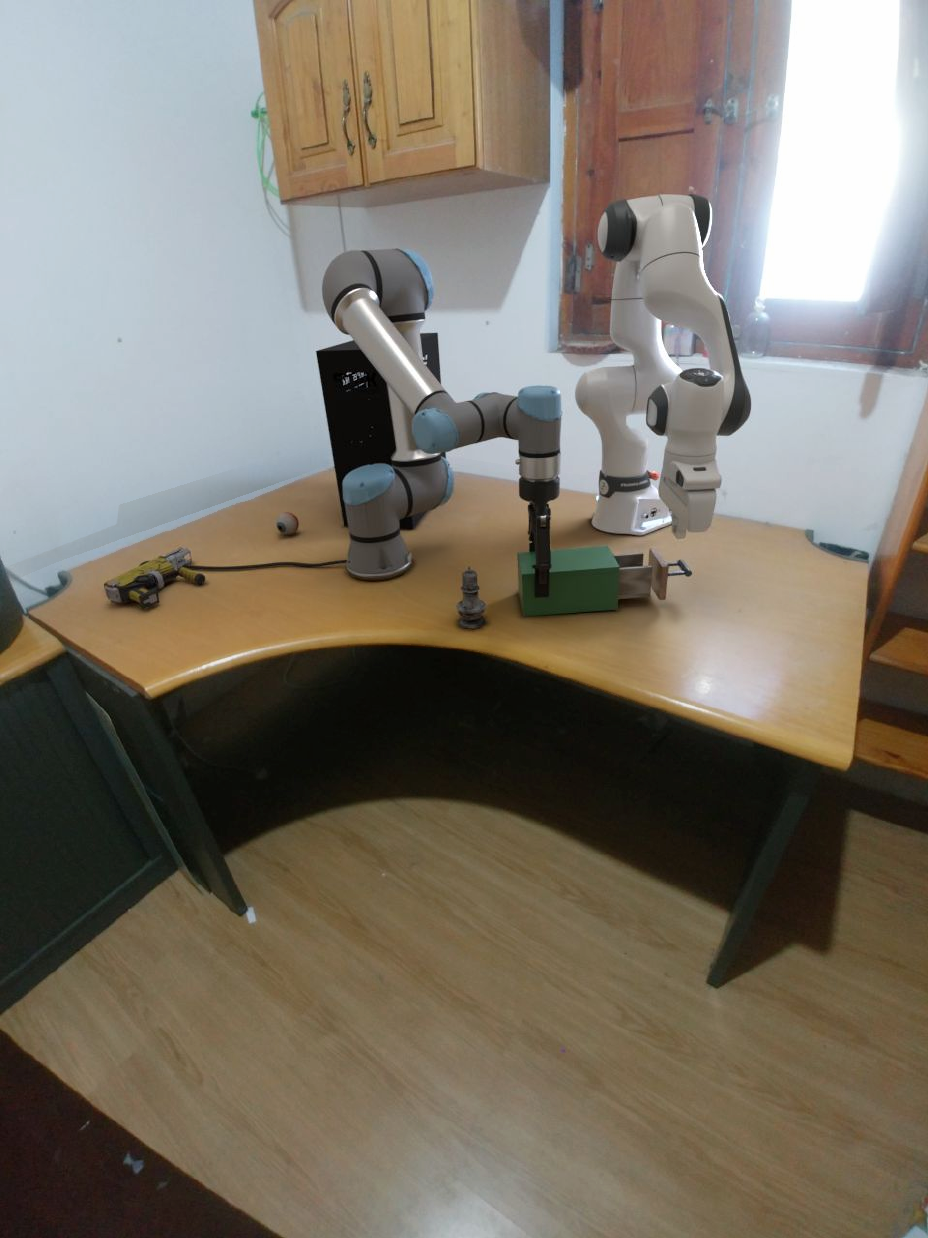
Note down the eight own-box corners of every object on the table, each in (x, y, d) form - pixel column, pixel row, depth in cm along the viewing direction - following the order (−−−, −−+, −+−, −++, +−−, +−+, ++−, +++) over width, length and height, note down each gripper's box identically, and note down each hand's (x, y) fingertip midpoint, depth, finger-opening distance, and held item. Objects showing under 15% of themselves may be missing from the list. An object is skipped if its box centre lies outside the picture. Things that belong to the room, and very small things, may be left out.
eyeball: (273, 537, 164) (268, 516, 161) (287, 528, 169) (282, 508, 166) (291, 539, 161) (286, 518, 158) (305, 530, 166) (301, 510, 163)
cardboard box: (413, 528, 164) (395, 348, 141) (344, 526, 168) (315, 350, 146) (447, 485, 195) (437, 332, 173) (388, 484, 200) (371, 334, 177)
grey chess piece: (484, 630, 116) (481, 573, 110) (454, 628, 117) (450, 572, 111) (489, 614, 121) (487, 560, 115) (460, 613, 122) (457, 559, 116)
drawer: (678, 577, 127) (681, 545, 123) (693, 597, 119) (697, 564, 115) (570, 585, 127) (570, 554, 124) (577, 606, 120) (578, 573, 116)
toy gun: (228, 555, 146) (178, 544, 150) (153, 596, 126) (97, 583, 130) (231, 573, 149) (181, 562, 153) (157, 616, 129) (102, 602, 132)
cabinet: (606, 585, 128) (607, 545, 124) (617, 609, 119) (619, 566, 115) (518, 592, 129) (517, 552, 124) (523, 616, 120) (521, 574, 115)
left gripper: (514, 460, 121) (515, 560, 132) (524, 497, 101) (525, 612, 112) (551, 458, 121) (550, 559, 132) (569, 495, 101) (565, 610, 112)
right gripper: (654, 450, 119) (647, 517, 126) (688, 484, 102) (677, 558, 109) (686, 449, 119) (677, 515, 126) (726, 482, 101) (713, 556, 108)
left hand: (538, 583), depth 122 cm, fingers closed on cabinet, 10 cm apart
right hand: (678, 535), depth 117 cm, fingers closed
